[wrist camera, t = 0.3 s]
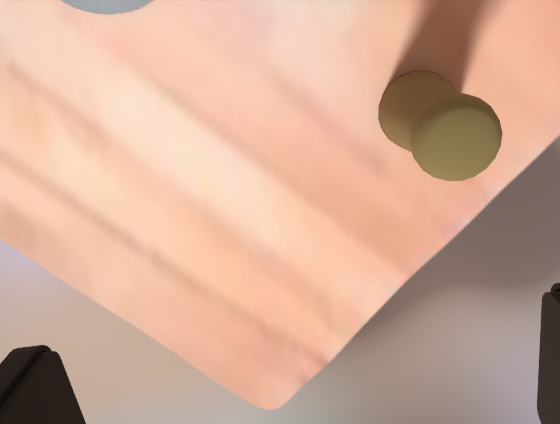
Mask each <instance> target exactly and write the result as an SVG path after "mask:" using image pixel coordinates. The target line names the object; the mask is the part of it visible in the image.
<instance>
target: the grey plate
mask: <svg viewBox="0 0 560 424" xmlns="http://www.w3.org/2000/svg"><path fill="white" fill-rule="evenodd" d="M61 1H63V2H64V3H66V4H68V5H70V6H72V7H75V8H77V9H80V10H83V11H86V12H91V13H96V14H122V13H126V12H131V11H134V10H136V9H139V8H141V7H143V6H145V5H147V4H149V3H150V2H152V1H153V0H61Z"/></svg>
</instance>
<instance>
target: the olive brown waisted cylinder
mask: <svg viewBox="0 0 560 424" xmlns="http://www.w3.org/2000/svg"><path fill="white" fill-rule="evenodd" d="M378 119H379V122H380V125H381V129H382V131H383V132H384V133H385V135H386V136H387V138H388V139H389V140H391V141H392V142H394V143H395V144H397V145H398V146H400V147H402V148H404V149H406V150H409V151H411V152H412V154H413V157H414V159H415V160H416V161H417V163H418V164H419V166H420V167H421V168H422V169H423V170H424V171H425V172H427V173H428V174H430V175H431V176H433V177H435V178H439V179H442V180H446V181H462V180H465V179H468V178H471V177H474V176H476V175H478V174H479V173H480V172H482V171H483V170H485V169H486V168H487V167H488V166H489V165H490V164H491V162H492V161H493V160H494V159H495V157H496V155H497V153H498V150H499V148H500V146H501V138H502V130H501V125H500V120H499V118H498V117H497V115H496V114H495V112H494V110H493V109H492V107H491V106H490V105H488V104H487V103H486V102H484V101H483V100H482V99H480V98H478V97H474V96H471V95H467V94H464V93H461V94H459V93H458V92H457V91H456V90H455V89H454V88H453V87H452V86H451V85H450V84H449V82H448V81H446V80H445V79H444V78H442V77H441V76H440V75H438V74H436V73H432V72H429V71H413V72H410V73H407V74H405V75H402V76H400V77H399V78H398V79H396V80H395V81H394V82H392V83H391V84H390V85H389V87H388V88H387V89H386V91H385V92H384V94H383V96H382V98H381V101H380V104H379V116H378Z"/></svg>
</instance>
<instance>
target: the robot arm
mask: <svg viewBox="0 0 560 424" xmlns="http://www.w3.org/2000/svg"><path fill="white" fill-rule="evenodd" d="M537 396H538V397H537V410H538V415H539V419H540V421H541V424H560V283H555V284H554V285H553V286H552V288H551V292H546V293H544V295H543V297H542V310H541V331H540V355H539V374H538V395H537ZM0 424H86V423H85V420H84V417H83V415H82V412H81V410H80V407H79V404H78V402H77V399H76V397H75V394H74V391H73V389H72V386H71V384H70V381H69V378H68V376H67V373H66V371H65V368H64V366H63V363H62V360H61V358H60V356H59V354H58V353H57V352H55V351H51V349H50V348H49V347H48V346H45V345H39V346H31V347H23V348H17V349H14V350H12V351H11V352H10V353H9V354H8V356H7V357H6V358H5V359H4V360H3V361H2V363H1V364H0Z"/></svg>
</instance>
